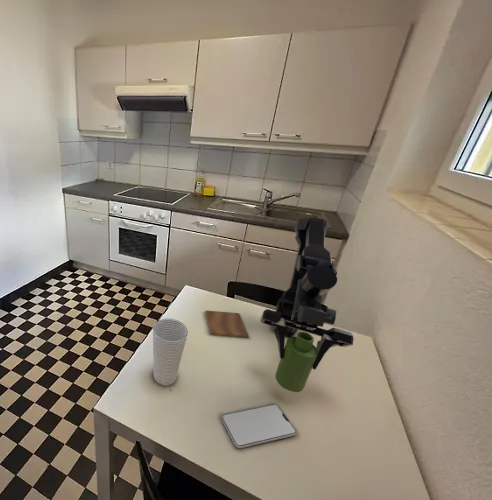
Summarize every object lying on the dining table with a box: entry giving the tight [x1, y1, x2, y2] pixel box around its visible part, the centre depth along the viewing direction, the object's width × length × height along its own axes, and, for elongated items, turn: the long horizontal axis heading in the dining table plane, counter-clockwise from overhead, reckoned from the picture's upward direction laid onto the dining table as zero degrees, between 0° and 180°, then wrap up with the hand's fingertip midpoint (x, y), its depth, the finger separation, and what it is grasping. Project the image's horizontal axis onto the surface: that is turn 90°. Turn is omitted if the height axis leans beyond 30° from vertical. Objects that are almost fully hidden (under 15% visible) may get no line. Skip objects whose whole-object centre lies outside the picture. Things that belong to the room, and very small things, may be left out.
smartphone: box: [220, 403, 298, 449], centre depth 62 cm, size 7×1×15 cm
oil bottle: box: [274, 331, 318, 393], centre depth 66 cm, size 6×6×14 cm
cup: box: [152, 318, 189, 386], centre depth 70 cm, size 8×8×16 cm
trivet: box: [204, 310, 250, 339], centre depth 95 cm, size 12×12×1 cm
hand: (297, 363), depth 65 cm, fingers closed on oil bottle, 6 cm apart
